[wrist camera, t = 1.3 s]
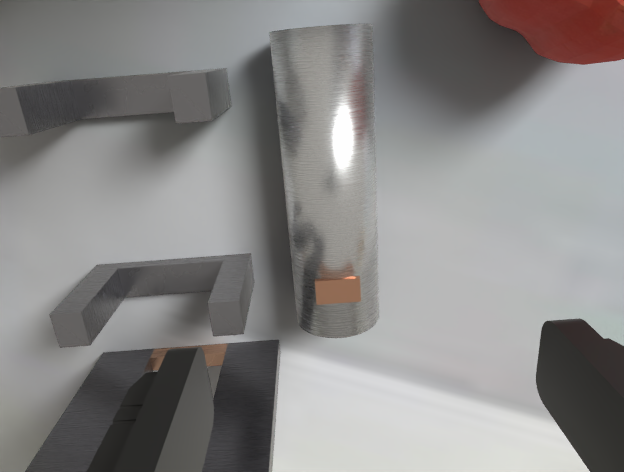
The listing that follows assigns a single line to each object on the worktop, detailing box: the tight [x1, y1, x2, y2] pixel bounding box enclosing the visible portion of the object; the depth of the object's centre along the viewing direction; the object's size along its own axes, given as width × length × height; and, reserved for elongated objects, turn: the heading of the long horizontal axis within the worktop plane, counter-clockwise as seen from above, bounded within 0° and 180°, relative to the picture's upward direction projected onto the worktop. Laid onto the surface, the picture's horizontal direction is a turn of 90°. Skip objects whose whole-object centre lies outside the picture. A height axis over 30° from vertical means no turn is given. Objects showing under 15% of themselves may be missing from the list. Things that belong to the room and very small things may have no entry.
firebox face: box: [25, 340, 280, 472], centre depth 26 cm, size 1×12×12 cm, turn 95°
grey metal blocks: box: [0, 68, 231, 137], centre depth 23 cm, size 2×10×6 cm, turn 94°
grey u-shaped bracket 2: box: [50, 254, 254, 348], centre depth 27 cm, size 2×10×6 cm, turn 94°
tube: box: [269, 24, 379, 338], centre depth 26 cm, size 16×5×5 cm, turn 4°
